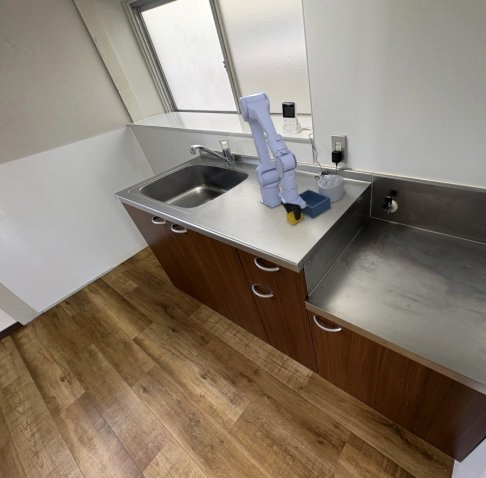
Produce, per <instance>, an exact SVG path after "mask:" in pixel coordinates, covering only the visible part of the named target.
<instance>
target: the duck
mask: <svg viewBox="0 0 486 478" xmlns="http://www.w3.org/2000/svg"><path fill="white" fill-rule="evenodd" d="M285 217H286V222H288V223H289V224H290V225H292V226H294V225H296V224H297V223H299V222H301V221H302V220H304V216H303V213H302V212H301V219H299V220H296V219H295V217H294V213H293V211H292V212H290V213H288V214H287V213H286V214H285Z"/></svg>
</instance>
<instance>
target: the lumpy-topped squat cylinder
mask: <svg viewBox="0 0 486 478" xmlns="http://www.w3.org/2000/svg"><path fill="white" fill-rule="evenodd" d="M317 190H318V192H317V193H319V194H322V195H324V196H327V197H329V198H330V204H331V203H335V202H337V201H339V200H340V199H342V197H343V196H344V193H345V183H344V177H343V176H341V175H338V174H326V175H323V176H321V177H320V178H319V179H318V182H317Z"/></svg>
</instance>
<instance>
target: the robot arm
mask: <svg viewBox="0 0 486 478" xmlns="http://www.w3.org/2000/svg"><path fill="white" fill-rule="evenodd" d="M238 106H239V110H240V113H241V117H242V120H243V122H245V123H248V125H249V130H250V132H251V136H252V140H253V143H254V146H255V151H256V154H257V157H258V161H259V164H258V165H257V167H256V168H255V178H256V181H257V183H258V185H259V191H260V195H261V200H260V201H261V203H262V204H265V205H266V206H268V207H270V208H272V209H273V208H275V207H277V206H279V205H282V207H283V208H284V210H285V212H286V214H288V213H290V212H292V211H293V213H294V217H295V219H296V220H299V219H301V212H302V209H303V208H305V207H306V202H305V201H303V200H302V198H301V197H300V196H299V195H298V194H299V189H298V181H297V174H296V169H297V167H298V161H297V157H296V155H295V153H294V152H293V151H292V150H291V149H290V148H288V146H287V144H286V142H285V140H284V138H283V135H282V134H280V133H277V130H276V127H275V125H274V122H273V120H272V117H271V112H270V111H271V103H270V98H269V96H268V95H267V93H265V92H263V91H262V92H261V93H256V94H252V95H247V96H240V97H239V99H238ZM266 138H267V139H266ZM269 150H270V152H271V154H270V152H269ZM271 156H273V159H274V162H273V161H272V159H271ZM280 185H281V189H280ZM293 204H294V205H293Z"/></svg>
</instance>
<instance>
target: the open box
mask: <svg viewBox="0 0 486 478" xmlns="http://www.w3.org/2000/svg"><path fill="white" fill-rule="evenodd" d="M298 195H299V196H300V197H301V198H302V200H303V201H305V202H306V207H305V208H303V209H302V214H304V215H306V216H308V217H309V218H311V219H316V218H318V216H320V215H322V214H323V213H325V212H327V211H328V210H330V209H332V208H331V207H332V206H331V203H330V198H329V197H327V196H324V195H322V194H319V192H316V191H314V190H313V189H310V188H308V189H306V190H304V191H302V192H300V193H298ZM293 205H294V204H293Z"/></svg>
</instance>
